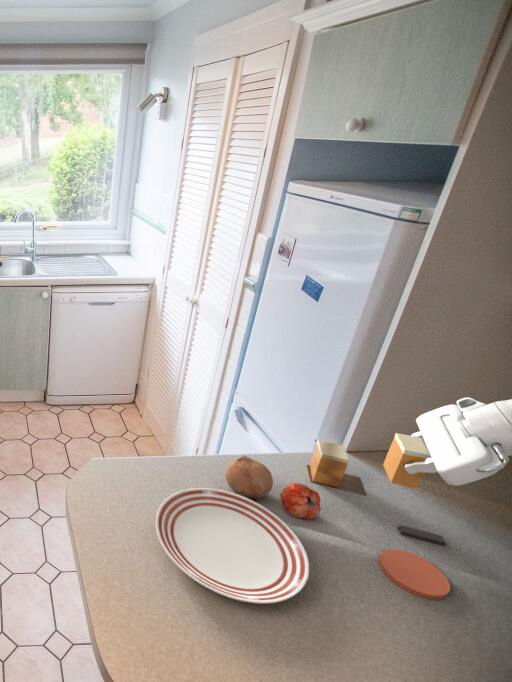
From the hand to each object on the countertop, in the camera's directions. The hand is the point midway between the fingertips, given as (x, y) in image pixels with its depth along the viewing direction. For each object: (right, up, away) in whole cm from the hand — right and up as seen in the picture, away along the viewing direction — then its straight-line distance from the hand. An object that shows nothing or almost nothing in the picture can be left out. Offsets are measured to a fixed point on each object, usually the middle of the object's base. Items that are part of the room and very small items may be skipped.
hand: (402, 458), depth 89 cm
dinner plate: (-34, -19, +2) cm, 39 cm away
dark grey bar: (0, -16, +6) cm, 17 cm away
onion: (-23, -12, +16) cm, 30 cm away
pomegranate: (-14, -15, +10) cm, 23 cm away
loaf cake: (+1, -11, +19) cm, 22 cm away
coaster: (-2, -21, -4) cm, 22 cm away
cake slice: (+1, -4, +1) cm, 4 cm away
